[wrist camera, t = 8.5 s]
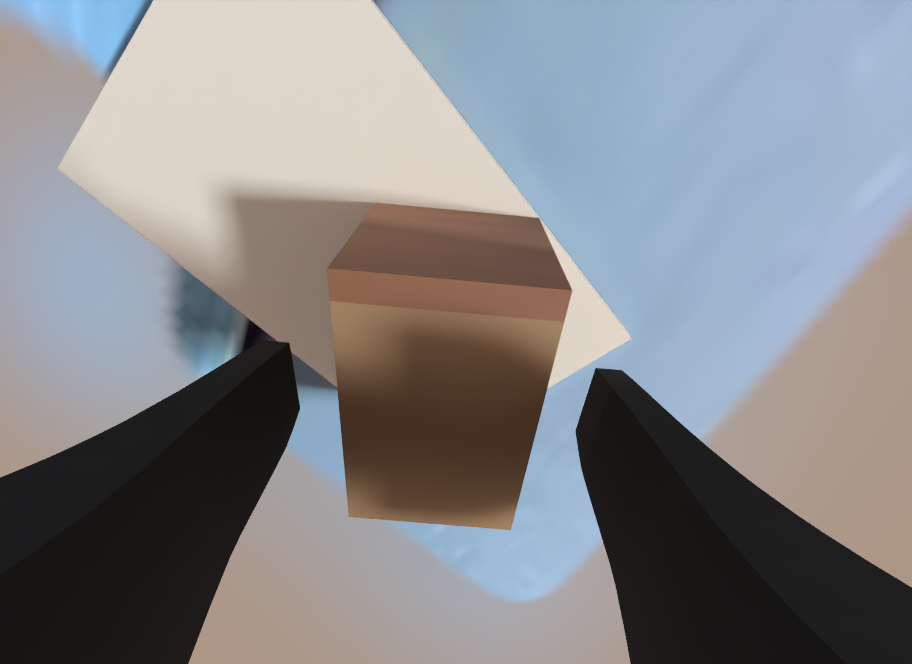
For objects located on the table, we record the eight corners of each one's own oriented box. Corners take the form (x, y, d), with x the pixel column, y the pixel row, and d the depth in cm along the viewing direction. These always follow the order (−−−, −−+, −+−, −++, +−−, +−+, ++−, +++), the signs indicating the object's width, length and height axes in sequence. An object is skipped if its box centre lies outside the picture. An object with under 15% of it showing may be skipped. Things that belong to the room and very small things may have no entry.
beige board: (73, 164, 10) (57, 168, 10) (258, -148, 7) (245, -161, 7) (429, 448, 15) (428, 458, 15) (625, 329, 12) (631, 338, 12)
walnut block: (501, 416, 14) (510, 530, 10) (379, 405, 14) (348, 516, 10) (539, 218, 10) (572, 290, 7) (375, 202, 10) (326, 268, 7)
